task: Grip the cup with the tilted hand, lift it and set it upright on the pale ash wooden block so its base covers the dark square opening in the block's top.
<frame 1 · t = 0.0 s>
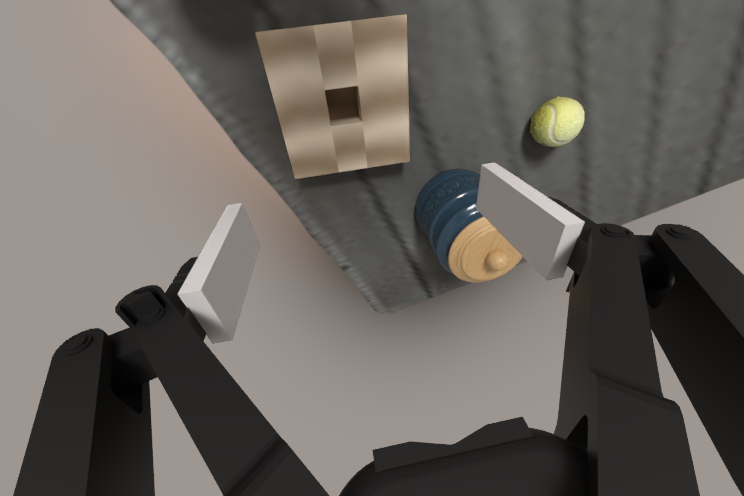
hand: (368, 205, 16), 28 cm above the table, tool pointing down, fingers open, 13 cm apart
opening block: (341, 101, 38), on the table
canister: (449, 202, 50), on the table
tennis ball: (542, 117, 44), on the table
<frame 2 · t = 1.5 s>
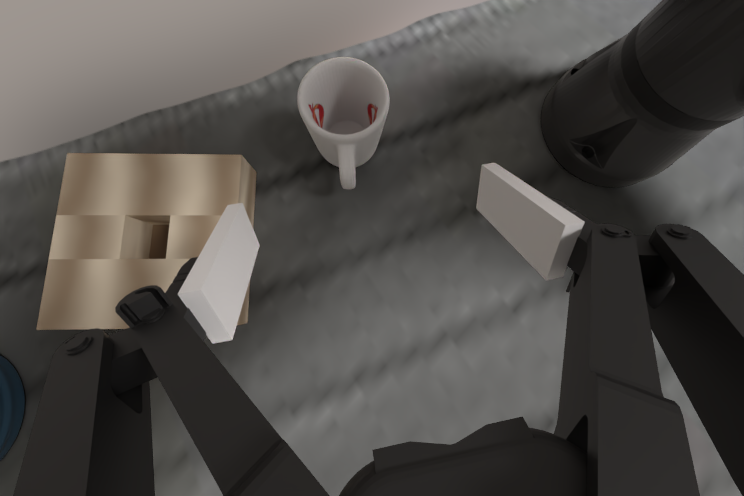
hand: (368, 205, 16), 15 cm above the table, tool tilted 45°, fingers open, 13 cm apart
cup: (348, 157, 32), on the table
opening block: (174, 244, 30), on the table
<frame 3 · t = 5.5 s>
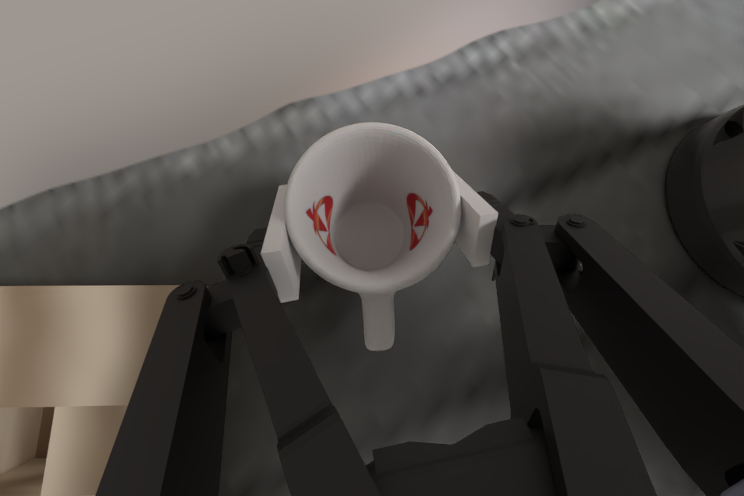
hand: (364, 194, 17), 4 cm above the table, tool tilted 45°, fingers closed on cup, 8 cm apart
cup: (370, 258, 20), on the table, touching gripper
opening block: (83, 417, 18), on the table
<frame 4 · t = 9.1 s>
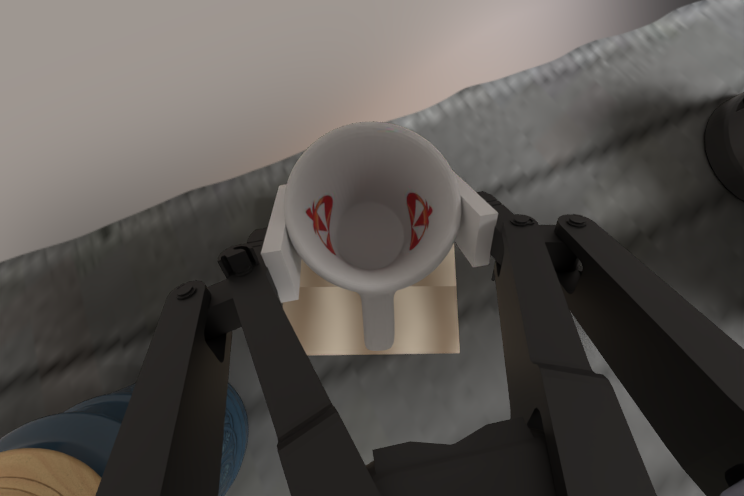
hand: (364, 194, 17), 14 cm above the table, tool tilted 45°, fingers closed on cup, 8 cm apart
cup: (370, 258, 20), point 10 cm above the table, touching gripper
opening block: (369, 268, 31), on the table
canister: (185, 434, 28), on the table
when the fingers open (9 cm above the table, at t = 10.5 s): cup drops 1 cm, resting on opening block.
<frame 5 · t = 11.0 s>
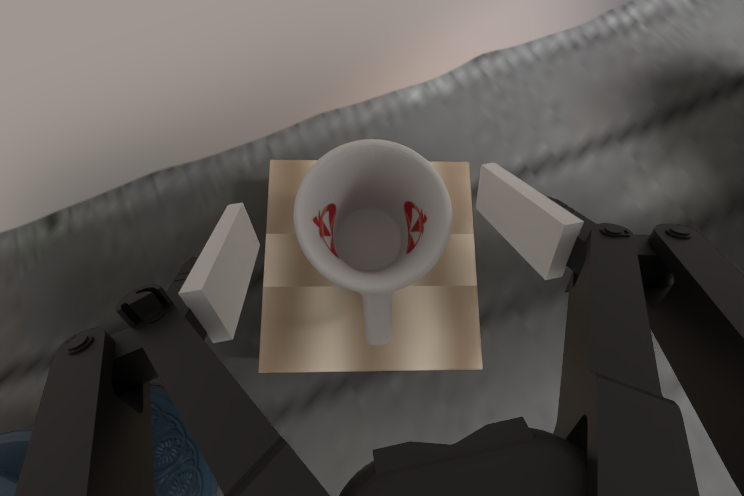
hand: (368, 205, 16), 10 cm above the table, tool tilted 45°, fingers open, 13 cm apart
cup: (370, 260, 22), point 4 cm above the table, touching opening block
opening block: (369, 265, 26), on the table
canister: (143, 467, 23), on the table
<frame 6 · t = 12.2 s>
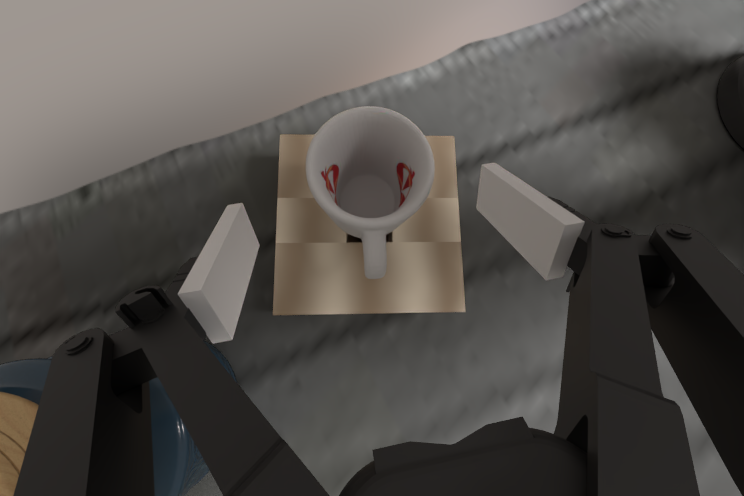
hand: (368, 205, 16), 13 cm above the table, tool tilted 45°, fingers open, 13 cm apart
cup: (368, 220, 25), point 4 cm above the table, touching opening block
opening block: (368, 230, 29), on the table
canister: (171, 404, 26), on the table
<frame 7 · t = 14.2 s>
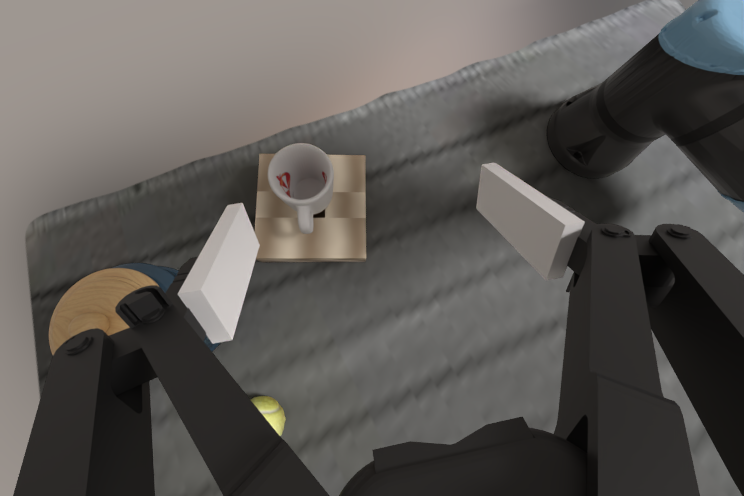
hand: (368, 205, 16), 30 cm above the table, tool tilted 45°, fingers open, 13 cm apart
cup: (311, 205, 42), point 4 cm above the table, touching opening block
opening block: (315, 212, 46), on the table
canister: (191, 315, 43), on the table
tennis ball: (266, 414, 41), on the table
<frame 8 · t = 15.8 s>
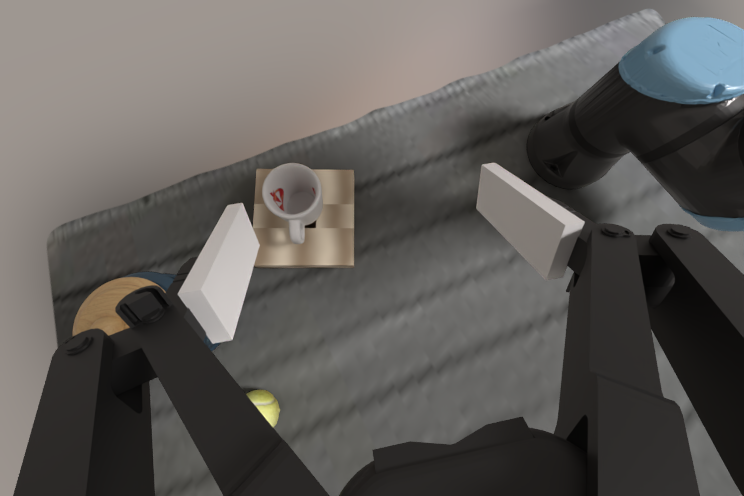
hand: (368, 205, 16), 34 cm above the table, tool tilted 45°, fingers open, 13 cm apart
cup: (303, 216, 46), point 4 cm above the table, touching opening block
opening block: (308, 222, 50), on the table
canister: (195, 316, 47), on the table
tennis ball: (263, 406, 45), on the table
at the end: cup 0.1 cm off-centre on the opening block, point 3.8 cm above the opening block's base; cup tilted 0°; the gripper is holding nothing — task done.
